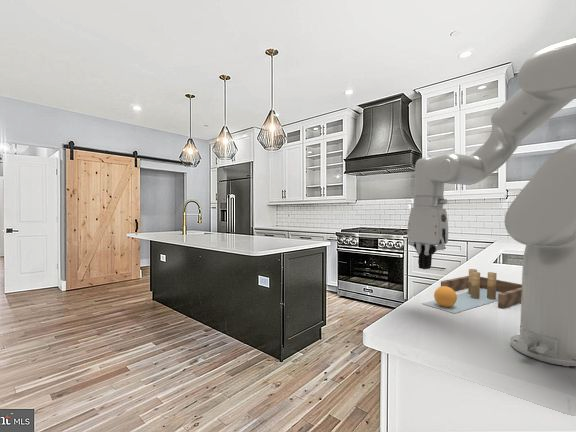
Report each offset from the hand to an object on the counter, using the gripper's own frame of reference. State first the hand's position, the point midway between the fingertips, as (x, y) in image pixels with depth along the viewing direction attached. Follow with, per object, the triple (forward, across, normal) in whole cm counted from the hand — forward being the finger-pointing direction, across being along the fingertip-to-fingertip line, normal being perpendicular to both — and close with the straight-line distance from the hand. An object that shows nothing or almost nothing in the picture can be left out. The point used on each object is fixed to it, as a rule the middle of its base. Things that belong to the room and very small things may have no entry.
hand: (424, 268), depth 88 cm
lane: (+12, -1, -24) cm, 27 cm away
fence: (+12, -1, -33) cm, 35 cm away
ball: (+9, -1, -10) cm, 13 cm away
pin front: (+12, -1, -26) cm, 29 cm away
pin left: (+12, +2, -30) cm, 33 cm away
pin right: (+12, -4, -30) cm, 33 cm away
